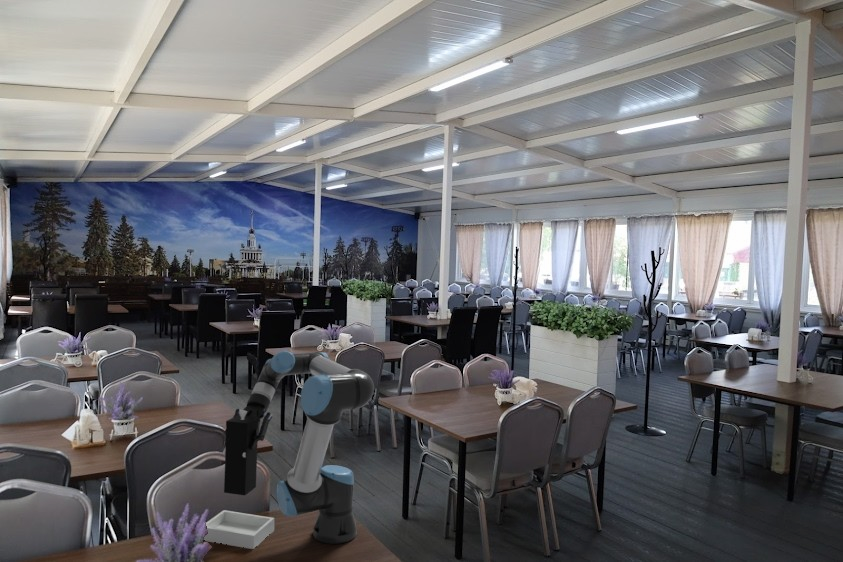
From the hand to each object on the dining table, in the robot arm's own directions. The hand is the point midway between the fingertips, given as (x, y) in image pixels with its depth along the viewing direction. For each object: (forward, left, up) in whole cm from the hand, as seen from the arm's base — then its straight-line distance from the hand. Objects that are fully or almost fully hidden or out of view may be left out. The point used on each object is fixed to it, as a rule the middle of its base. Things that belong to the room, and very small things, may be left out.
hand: (234, 456), depth 199 cm
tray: (0, -3, -28) cm, 29 cm away
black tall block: (0, -4, -13) cm, 14 cm away
